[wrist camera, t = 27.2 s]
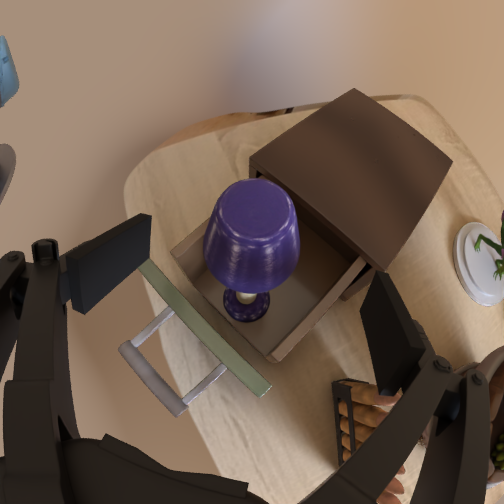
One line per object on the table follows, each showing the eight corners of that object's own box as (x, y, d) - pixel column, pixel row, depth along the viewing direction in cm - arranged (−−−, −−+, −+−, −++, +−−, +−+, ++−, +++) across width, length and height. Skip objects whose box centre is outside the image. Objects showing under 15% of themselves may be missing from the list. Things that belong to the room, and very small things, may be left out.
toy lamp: (281, 286, 26) (324, 173, 11) (267, 334, 25) (301, 281, 9) (231, 272, 27) (211, 146, 11) (215, 319, 25) (166, 243, 10)
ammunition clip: (356, 470, 21) (412, 515, 10) (339, 475, 21) (389, 525, 10) (348, 377, 25) (412, 380, 14) (331, 381, 25) (386, 389, 14)
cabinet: (344, 301, 28) (385, 271, 19) (248, 215, 32) (248, 157, 23) (415, 206, 33) (453, 161, 24) (335, 142, 36) (353, 87, 27)
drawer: (210, 429, 22) (195, 454, 15) (122, 332, 26) (82, 318, 18) (362, 272, 28) (396, 240, 21) (274, 196, 32) (280, 148, 24)
